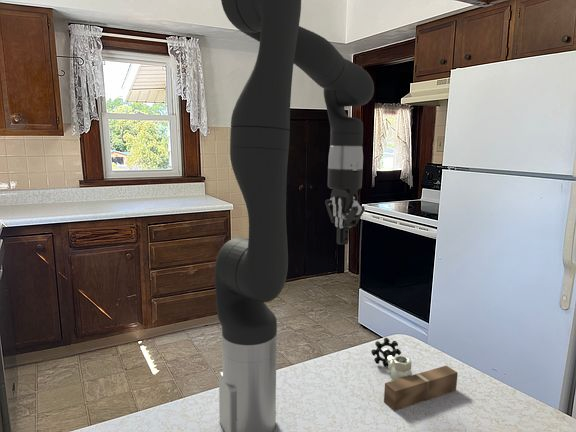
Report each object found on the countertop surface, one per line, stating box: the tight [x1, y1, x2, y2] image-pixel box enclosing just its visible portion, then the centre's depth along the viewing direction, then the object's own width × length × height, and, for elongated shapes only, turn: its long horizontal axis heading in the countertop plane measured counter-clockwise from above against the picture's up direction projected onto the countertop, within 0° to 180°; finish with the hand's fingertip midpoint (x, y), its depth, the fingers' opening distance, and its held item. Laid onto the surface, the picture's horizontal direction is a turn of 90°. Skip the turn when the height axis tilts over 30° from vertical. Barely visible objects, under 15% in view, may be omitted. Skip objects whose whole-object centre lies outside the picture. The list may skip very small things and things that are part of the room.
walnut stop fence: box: [383, 365, 459, 412], centre depth 83 cm, size 16×3×4 cm, turn 116°
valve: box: [370, 337, 413, 382], centre depth 89 cm, size 7×7×12 cm
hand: (342, 243), depth 95 cm, fingers closed
